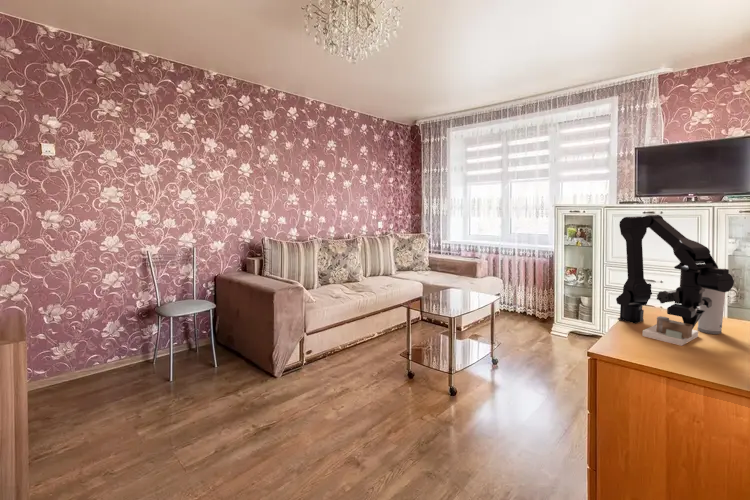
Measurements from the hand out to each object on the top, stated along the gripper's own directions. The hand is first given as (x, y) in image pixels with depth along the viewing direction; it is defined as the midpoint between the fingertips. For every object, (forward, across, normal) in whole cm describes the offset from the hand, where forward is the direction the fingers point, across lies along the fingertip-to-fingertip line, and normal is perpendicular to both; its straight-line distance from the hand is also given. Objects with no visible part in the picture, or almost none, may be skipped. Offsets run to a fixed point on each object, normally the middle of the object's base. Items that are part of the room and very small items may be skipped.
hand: (688, 331), depth 124 cm
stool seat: (+3, -1, -5) cm, 6 cm away
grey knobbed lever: (+1, +3, -3) cm, 5 cm away
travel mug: (+4, -16, +1) cm, 17 cm away
